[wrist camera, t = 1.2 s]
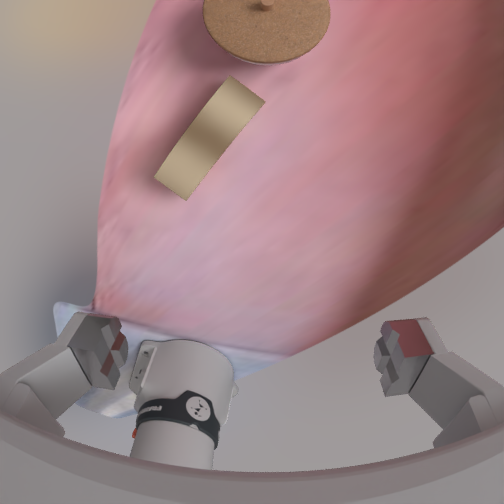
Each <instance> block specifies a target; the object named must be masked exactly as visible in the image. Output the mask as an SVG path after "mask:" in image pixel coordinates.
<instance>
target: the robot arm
mask: <svg viewBox="0 0 504 504" xmlns="http://www.w3.org/2000/svg"><path fill="white" fill-rule="evenodd" d="M121 327H122V325H121V323H120V320H119V318H117V317H115V316H107V315H100V314H92V313H83V312H77V313H74V315H73V316H72V318H71V319H70V321H69V322H68V324H67V325H66V326H65V328H64V329H63V331H62V332H61V334H60V335H59V337H58V338H57V340H56V342H55V343H54V344H49V345H47V346H45V347H44V348H42V349H40V350H39V351H37V352H35V353H34V354H32V355H30V356H29V357H27V358H25V359H24V360H22V361H20V362H19V363H17V364H16V365H14V366H12V367H11V368H9V369H7V370H6V371H4V372H2V373H1V374H0V504H504V387H503V386H502V385H501V384H499V383H498V382H497V381H495V380H494V379H492V378H491V377H489V376H487V375H486V374H484V373H483V372H482V371H480V370H479V369H477V368H476V367H474V366H473V365H472V364H470V363H468V362H467V361H466V360H464V359H463V358H461V357H460V356H458V355H457V354H455V353H454V352H448V351H447V349H446V347H445V345H444V343H443V341H442V340H441V338H440V336H439V334H438V333H437V331H436V329H435V327H434V326H433V324H432V322H431V321H430V319H428V318H427V317H425V318H415V319H406V320H394V321H385V322H384V323H383V325H382V327H381V334H382V337H381V338H380V339H379V340H378V341H377V342H376V345H375V348H374V363H375V366H376V369H377V370H378V371H379V372H380V373H382V374H383V375H382V377H381V379H380V382H381V385H382V388H383V392H384V394H385V397H386V396H394V395H402V394H409V396H410V397H411V398H412V399H413V400H414V401H415V402H416V403H417V404H418V405H419V406H420V407H421V408H422V409H423V410H424V411H425V412H426V413H427V414H428V415H429V416H430V417H431V418H432V419H433V420H434V421H435V422H436V423H437V424H438V425H439V426H440V427H441V428H443V431H442V432H441V433H440V434H439V435H438V436H437V437H436V438H435V440H434V441H433V445H434V449H430V450H427V451H423V452H420V453H416V454H412V455H408V456H404V457H399V458H395V459H390V460H386V461H380V462H375V463H370V464H364V465H358V466H350V467H343V468H335V469H326V470H315V471H299V472H234V471H218V470H212V466H213V455H214V450H215V449H216V448H217V445H218V441H219V438H220V427H221V426H222V425H224V424H225V423H226V421H227V418H228V413H229V408H230V403H231V398H232V397H234V396H236V395H237V394H238V387H237V385H236V383H235V382H234V372H233V368H232V365H231V364H230V362H229V361H228V359H227V358H226V357H225V356H224V355H222V354H221V353H220V352H218V351H217V350H215V349H214V348H212V347H210V346H207V345H205V344H202V343H199V342H195V341H189V340H172V341H166V342H155V341H143V342H142V344H141V347H140V350H139V353H138V357H137V360H136V363H135V366H134V370H133V373H132V376H131V380H130V383H129V388H130V389H131V390H132V391H133V392H134V393H135V394H136V395H137V397H136V400H135V403H134V408H135V410H136V411H137V412H138V415H137V419H136V428H135V430H134V431H133V435H132V437H133V438H135V440H134V443H133V447H132V450H131V454H130V457H128V456H124V455H119V454H116V453H112V452H108V451H105V450H101V449H98V448H94V447H91V446H88V445H84V444H81V443H78V442H75V441H72V440H69V439H67V438H64V437H63V436H64V434H65V431H64V429H63V427H62V426H61V425H60V424H59V423H58V422H57V421H56V419H57V418H58V417H59V416H60V415H61V414H62V413H64V412H65V411H66V410H67V409H68V408H69V407H70V406H72V405H73V404H74V403H75V402H76V401H77V400H78V399H79V398H81V397H82V396H83V395H84V394H85V393H86V392H87V391H89V390H90V389H91V388H92V386H94V387H99V388H105V389H111V390H114V389H115V386H116V384H117V382H118V379H119V377H120V372H119V368H120V367H121V366H123V365H124V364H125V362H126V359H127V356H128V342H127V339H126V337H125V336H124V335H123V334H122V333H121V332H120V329H121Z"/></svg>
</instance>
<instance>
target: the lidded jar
mask: <svg viewBox="0 0 504 504" xmlns="http://www.w3.org/2000/svg"><path fill="white" fill-rule="evenodd" d="M203 18H204V23H205V26H206V28H207V30H208V32H209V34H210V35H211V37H212V38H213V39H214V41H215V42H216V43H217V44H218V45H219V46H220V47H222V48H223V49H224V50H225V51H227V52H228V53H229V54H230V55H232V56H234V57H236V58H237V59H240V60H242V61H244V62H247V63H251V64H255V65H262V66H272V65H280V64H284V63H287V62H290V61H293V60H295V59H298V58H299V57H301V56H303V55H304V54H306V53H307V52H309V51H310V50H311V49H313V48H314V47H315V46H316V45H317V44H318V43H319V42H320V40H321V39H322V38H323V36H324V35H325V33H326V31H327V29H328V26H329V22H330V6H329V2H328V0H204V4H203Z"/></svg>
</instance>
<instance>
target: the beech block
mask: <svg viewBox="0 0 504 504" xmlns="http://www.w3.org/2000/svg"><path fill="white" fill-rule="evenodd" d="M264 104H265V101H264V100H263V99H261V98H260V97H259V96H257V95H256V94H255V93H253V92H252V91H251V90H249V89H248V88H247V87H245V86H244V85H243V84H241V83H240V82H239V81H237V80H236V79H234V78H233V77H232V76H229V77H228V78H227V79H226V80H225V82H224V83H223V84H222V85H221V86H220V88H219V89H218V90H217V91H216V93H215V94H214V95H213V96H212V97H211V99H210V100H209V101H208V102H207V104H206V105H205V106H204V108H203V109H202V110H201V111H200V113H199V114H198V115H197V117H196V118H195V119H194V121H193V122H192V123H191V125H190V126H189V127H188V129H187V130H186V131H185V133H184V134H183V135H182V137H181V138H180V140H179V141H178V142H177V144H176V145H175V147H174V148H173V149H172V151H171V152H170V154H169V155H168V157H167V158H166V159H165V161H164V162H163V164H162V165H161V167H160V168H159V170H158V171H157V173H156V174H155V176H154V178H155V179H157V180H158V181H159V182H161V183H162V184H164V185H165V186H166V187H168V188H169V189H170V190H172V191H173V192H174V193H176V194H177V195H179V196H180V197H181V198H183V199H184V200H185V201H186V200H187V199H188V198H189V196H190V195H191V194H192V193H193V191H194V190H195V189H196V187H197V186H198V185H199V184H200V182H201V181H202V180H203V178H204V177H205V176H206V174H207V173H208V172H209V170H210V169H211V168H212V167H213V165H214V164H215V163H216V161H217V160H218V159H219V158H220V156H221V155H222V154H223V153H224V151H225V150H226V149H227V148H228V146H229V145H230V144H231V143H232V141H233V140H234V139H235V138H236V137H237V135H238V134H239V133H240V132H241V131H242V129H243V128H244V127H245V126H246V125H247V123H248V122H249V121H250V120H251V119H252V117H253V116H254V115H255V114H256V113H257V112H258V110H259V109H260V108H261V107H262V106H263V105H264Z"/></svg>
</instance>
